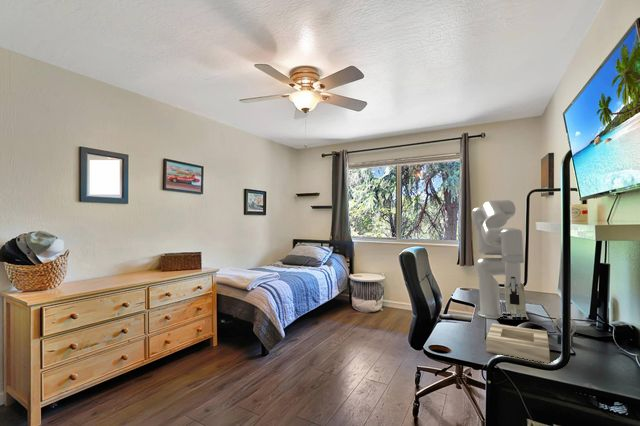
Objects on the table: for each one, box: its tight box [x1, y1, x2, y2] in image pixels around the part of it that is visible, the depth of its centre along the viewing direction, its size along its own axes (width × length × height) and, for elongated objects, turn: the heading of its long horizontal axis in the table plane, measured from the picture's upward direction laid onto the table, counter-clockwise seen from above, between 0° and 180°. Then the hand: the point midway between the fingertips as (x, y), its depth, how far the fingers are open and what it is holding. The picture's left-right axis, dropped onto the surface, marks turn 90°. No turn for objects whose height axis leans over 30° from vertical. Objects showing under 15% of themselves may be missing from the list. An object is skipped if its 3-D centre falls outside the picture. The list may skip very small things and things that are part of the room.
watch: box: [551, 315, 578, 347], centre depth 125 cm, size 6×8×11 cm
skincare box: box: [503, 281, 527, 315], centre depth 123 cm, size 6×4×12 cm
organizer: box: [485, 323, 551, 364], centre depth 122 cm, size 22×20×5 cm
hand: (515, 301), depth 123 cm, fingers closed on skincare box, 7 cm apart
